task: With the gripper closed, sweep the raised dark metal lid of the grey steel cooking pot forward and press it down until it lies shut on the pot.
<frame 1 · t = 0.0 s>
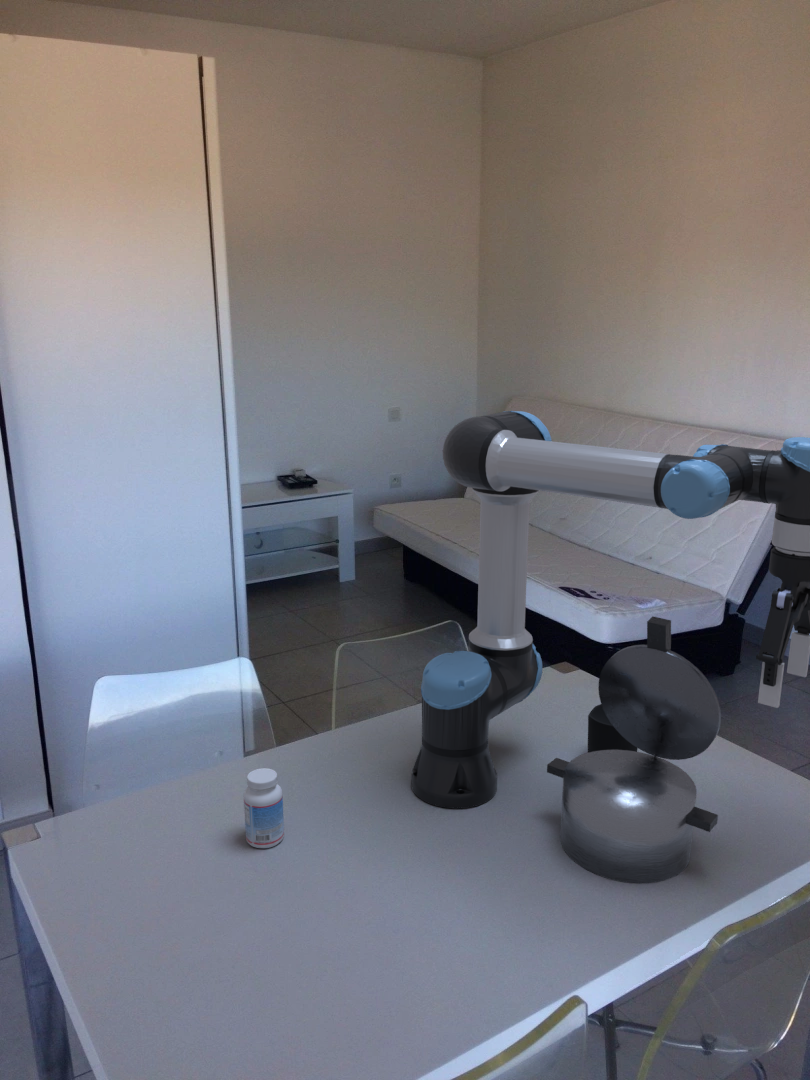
hand: (783, 689, 129), 28 cm above the table, tool pointing down, fingers open, 13 cm apart
pot lid: (659, 688, 140), point 23 cm above the table, hinge at 80.0°
lidded jar: (626, 729, 177), on the table
cooking pot: (624, 843, 139), on the table
pen holder: (611, 764, 164), on the table
pill bottle: (265, 839, 140), on the table
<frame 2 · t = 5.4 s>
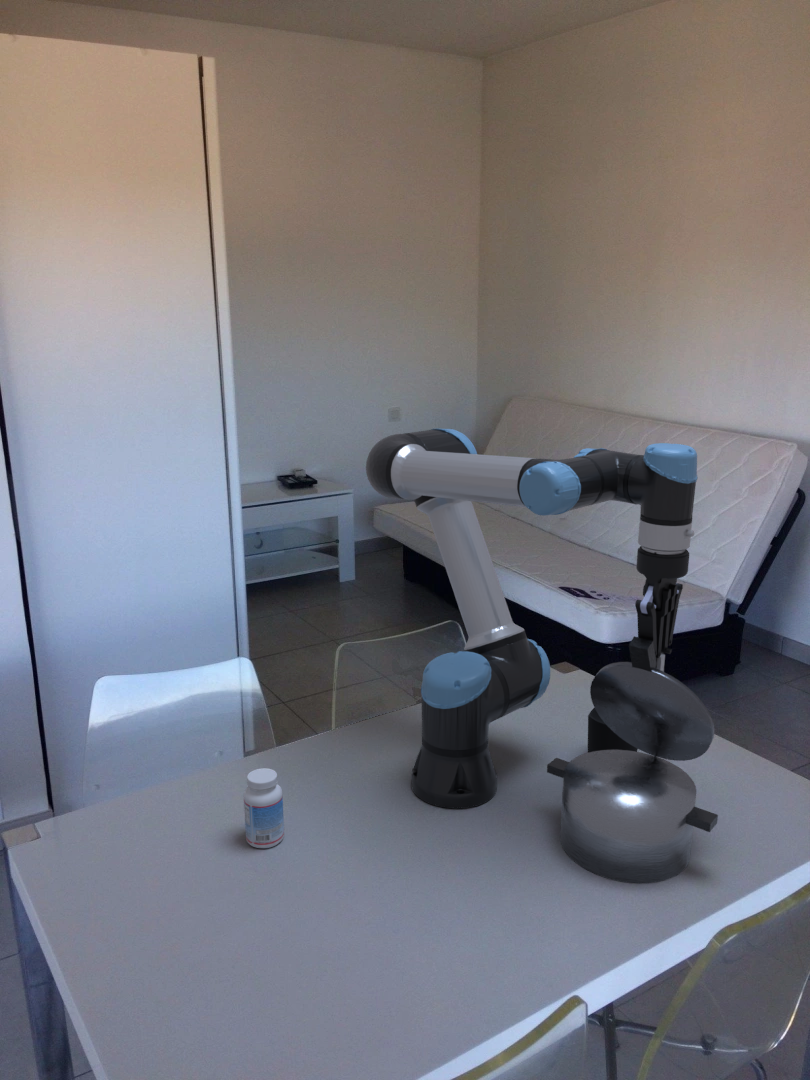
hand: (651, 692, 138), 24 cm above the table, tool pointing down, fingers closed
pot lid: (650, 698, 138), point 23 cm above the table, hinge at 64.6°, touching gripper
everything else where it was.
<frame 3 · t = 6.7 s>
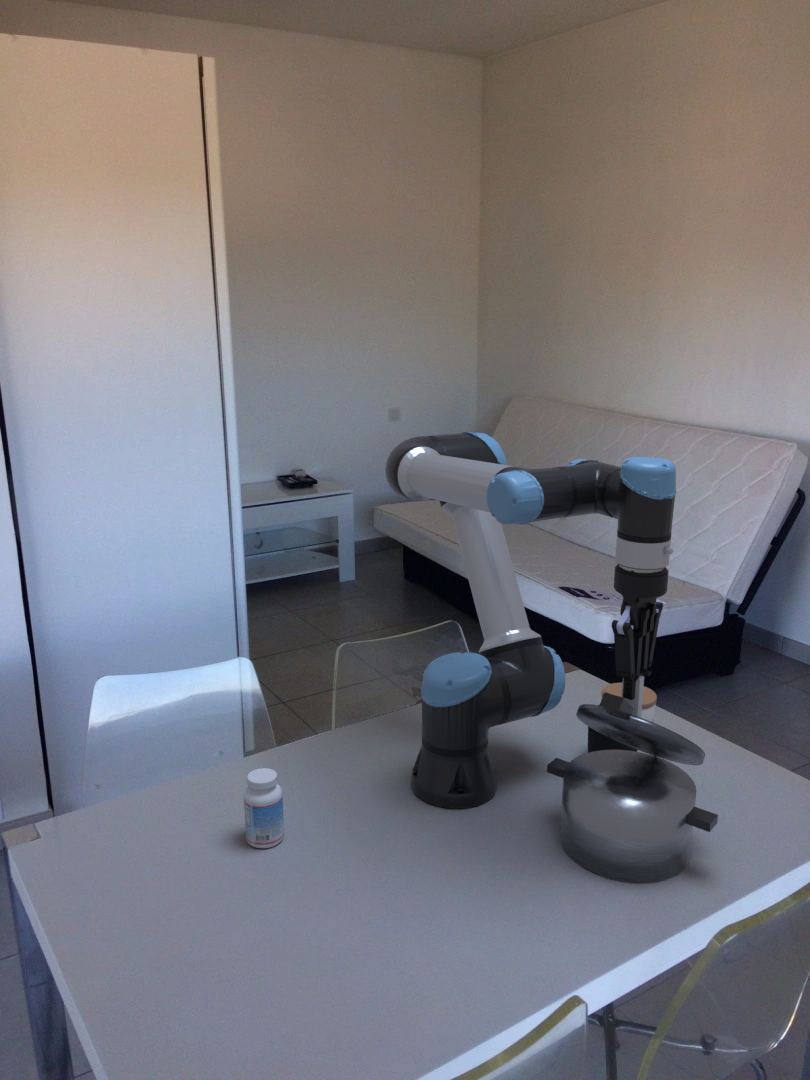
hand: (630, 715, 132), 22 cm above the table, tool pointing down, fingers closed
pot lid: (636, 725, 135), point 20 cm above the table, hinge at 39.2°
everything else where it was.
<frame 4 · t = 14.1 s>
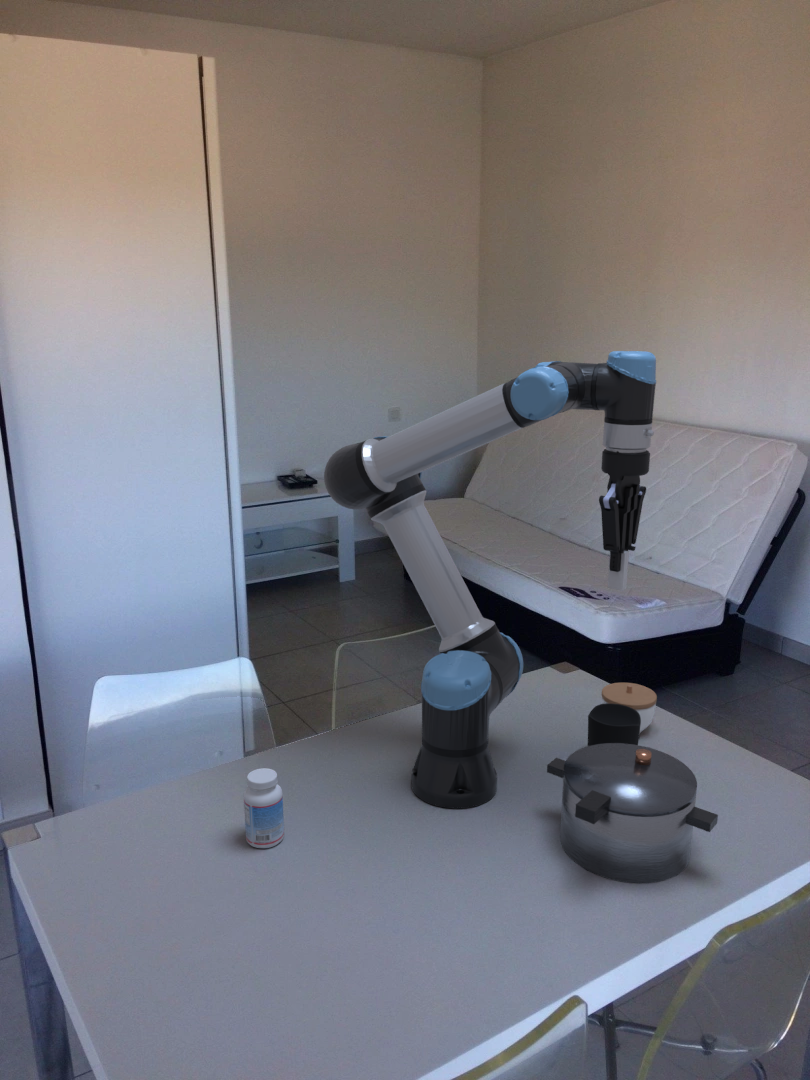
hand: (616, 588, 148), 36 cm above the table, tool pointing down, fingers closed
pot lid: (623, 778, 134), point 12 cm above the table, hinge at 0.0°, touching cooking pot
everything else where it was.
at the end: pot lid at +0° (first picture: +80°) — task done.
